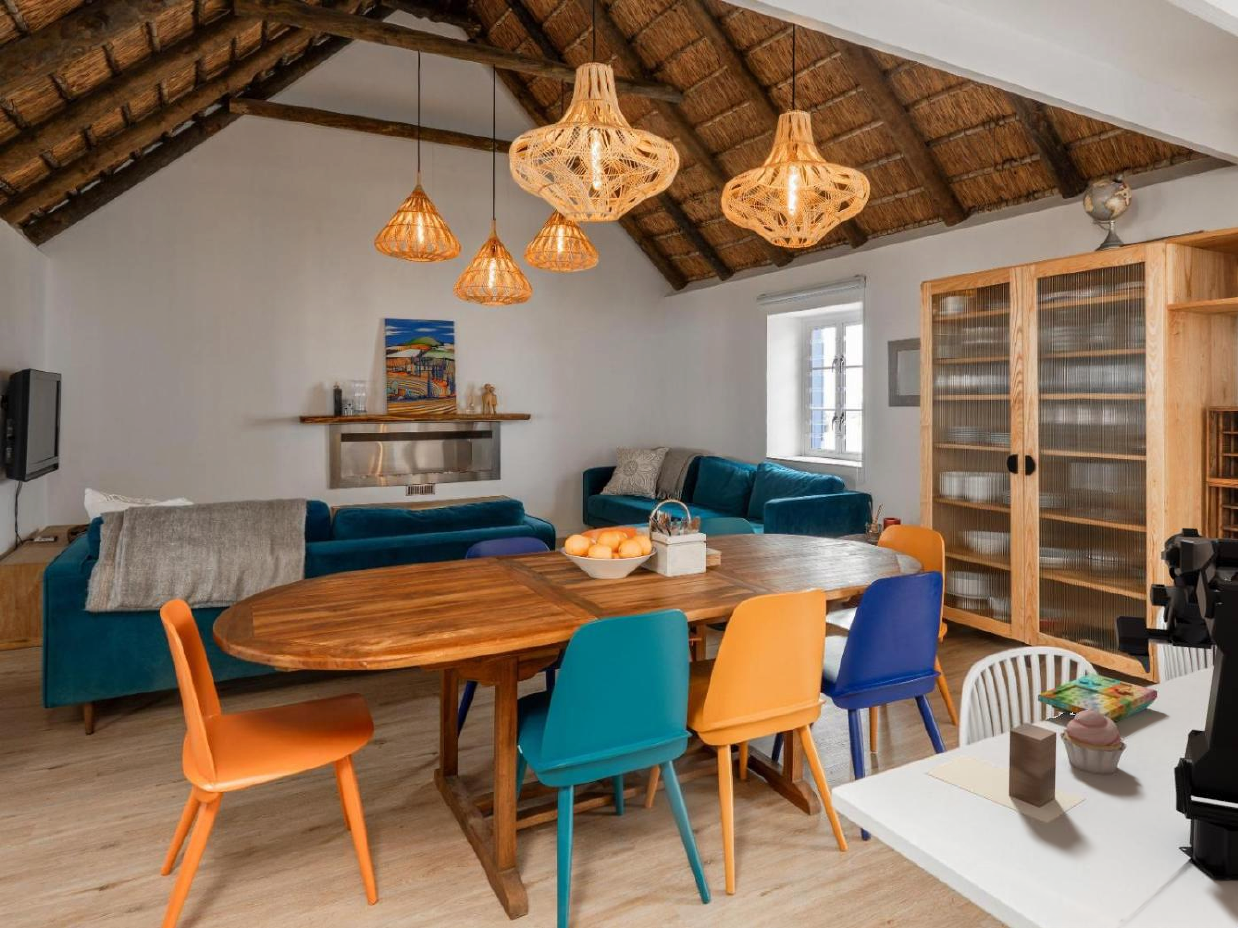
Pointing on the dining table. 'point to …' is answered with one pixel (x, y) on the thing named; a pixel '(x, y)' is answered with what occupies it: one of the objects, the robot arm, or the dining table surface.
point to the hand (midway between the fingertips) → (1181, 674)
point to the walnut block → (1032, 764)
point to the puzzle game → (1099, 697)
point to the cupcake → (1093, 742)
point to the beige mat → (999, 787)
